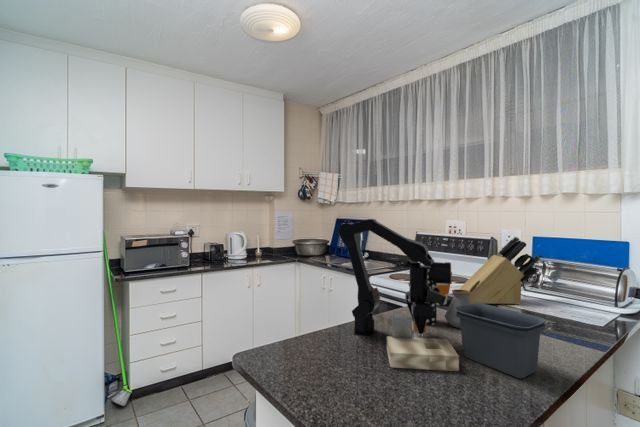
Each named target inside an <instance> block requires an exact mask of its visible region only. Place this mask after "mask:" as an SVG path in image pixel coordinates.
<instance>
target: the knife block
mask: <svg viewBox="0 0 640 427" xmlns="http://www.w3.org/2000/svg"><path fill="white" fill-rule="evenodd" d="M525 247H527V243H526V242H525V241H522V240H520V238H519V237H518V236H515V237H513V238H512V239H511V240H509V242H507V243H506V244H505V245H504V246H502V248H501V249H500V250H499V251H498V252H497V254H493V255H492V256H490V258H489V259H487V261H485V263H484V264H482V265H481V266H480V267H479V268H478V270H476V272H474V273H473V274H472V275H471V276H470V278H468V279H467V280H466V282H464V283H463V284H462V286H461V287H459V288H458V289H459V290H467V291H470V289H471V288H472V287H473V285H475V283H477V281H481V282H480V283H479V284H480V285H477V287H476V288H475V289H474V290H473V291H472V292H471V293H470V295H469V297H468V298H469V300H470V302H471V304H472V303H480V304H486V305H491V304H493V305H495V304H505V305H508V304H509V305H512V304H514V305H518V304H519V305H520V304H521V302H522V301H521V300H522V284H524V283H525V282H526V281H528V280H529V279H531V278H532V277H533V276H534V275H535V274H536V273H539V271H540V268H537V267H534V265H535V264H536V263H537V262H538V261H539V260H541V257H540V256H538V255H536V256H535V257H533V256H532V255H529V254H528V253H524V254H522V255H520V256H519V257H517V256H518V255H519V254H520V253H521V252H522V251H523V250H524V248H525ZM515 257H517V258H516V259H515ZM514 259H515V261H514V263H512V260H514ZM526 261H527V262H526ZM482 283H483V284H482Z"/></svg>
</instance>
